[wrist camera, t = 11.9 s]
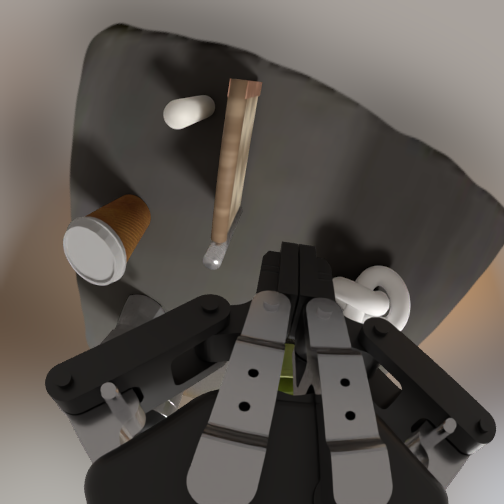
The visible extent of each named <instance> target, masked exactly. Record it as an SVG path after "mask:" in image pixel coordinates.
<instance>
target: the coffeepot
mask: <svg viewBox="0 0 504 504" xmlns="http://www.w3.org/2000/svg"><path fill="white" fill-rule="evenodd" d="M163 314H165V312H164V310H163V308H162V307H161V306H160V305H159V304H158V303H157V302H156V301H154V300H153V299H151V298H149V297H147V296H145V295H139V294H135V295H129V297H128V299H127V301H126V303H125V305H124V307H123V310H122V312H121V315H120V317H119V320H118V322H117V325H116V328H115V329H114V330H112V331H111V332H110V333H109V335H108V336H107V337H106V338H105V339H104V340H103V341H102V343H105V342H107V341H109V340H111V339H113V338H115V337H117V336H119V335H121V334H123V333H125V332H128V331H130V330H132V329H134V328H136V327H138V326H140V325H142V324H144V323H146V322H148V321H150V320H152V319H154V318H156V317H158V316H160V315H163ZM102 343H101V344H102Z"/></svg>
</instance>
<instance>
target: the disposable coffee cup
mask: <svg viewBox="0 0 504 504" xmlns="http://www.w3.org/2000/svg"><path fill="white" fill-rule="evenodd" d="M150 220H151V216H150V211H149V209H148V207H147V205H146V204H145V203H144V201H143V200H142V199H140V198H139V197H137V196H135V195H124V196H122V197H120V198H118V199H116V200H114V201H113V202H111V203H109V204H107V205H105V206H103V207H101V208H100V209H98V210H96V211H94V212H92V213H91V214H89V215H87V216H85V217H80V218H77V219H75V220H73V221H72V222H71V223H70V224H69V226H68V228H67V231H66V233H65V235H64V239H63V247H64V252H65V255H66V258H67V260H68V261H69V263H70V265H71V266H72V268H73V269H74V270H75V271H76V272H77V273H78V274H79V275H80V276H81V277H82V278H83V279H85V280H86V281H88V282H90V283H92V284H95V285H108V284H110V283H112V282H115V281H117V280H119V279H120V278H121V277H122V275H123V274H124V271H125V268H126V263H127V261H128V259H129V257H130V256H131V254H132V252H133V251H134V249H135V247H136V246H137V244H138V242H139V241H140V239H141V237H142V235H143V234H144V232H145V230H146V229H147V227H148V226H149V224H150Z"/></svg>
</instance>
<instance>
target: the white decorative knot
mask: <svg viewBox="0 0 504 504" xmlns="http://www.w3.org/2000/svg"><path fill="white" fill-rule="evenodd" d="M333 285H334V292H335V299H336V302H337V303H338V304H339V305H340V306H341V307H342V308H343V309H344V312H343V314H344V316H346V317H347V318H349V319H351V320H354V321H357V322H359V323H362V324H364V322H365V321H366V320H367V319H368V318H371V317H379V318H383V319H385V320H387V321H389V322H390V323H391V324H393V325H394V326H395V327H396V328H397V329H398V330H399V331H401V330H402V329H403V328H404V326H405V325H406V323H407V320H408V318H409V313H410V297H409V292H408V290H407V287H406V285H405V283H404V281H403V280H402V278H401V277H400V276H399V275H398V274H397V273H396V272H395V271H393V270H392V269H390V268H388V267H385V266H372V267H369V268H367V269H366V270H364V271H363V272H362V273H361V274H360V276H359V277H358V278H357V279H356V280H355V282H354V281H352V280H349V279H347V278H344V277H335V278H333ZM377 286H381V287H383V288H384V289H385V290H386V292H387V294H388V296H389V299H390V312H389V314H388V316H387V317H381V315H383V314H385V313H386V312H387V310H388V309H389V299H388V297H387V295H386V294H385V293H384V292H382V291H373V290H374V288H375V287H377Z"/></svg>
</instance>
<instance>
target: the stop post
mask: <svg viewBox="0 0 504 504" xmlns="http://www.w3.org/2000/svg"><path fill="white" fill-rule="evenodd" d="M214 110H215V103H214V101H213V99H212V98H211V97H209V96H206V95H200V96H194V97H188V98H182V99H176V100H173V101H171V102H169V103H168V104H167V105H166V107H165V109H164V120H165V122H166V123H167V125H168V126H170V127H171V128H174V129H182V128H184V127H187V126H189V125H191V124H194V123H196V122H198V121H201V120H203V119H206V118H208V117H210V116H211V115H212V114H213V113H214Z"/></svg>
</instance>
